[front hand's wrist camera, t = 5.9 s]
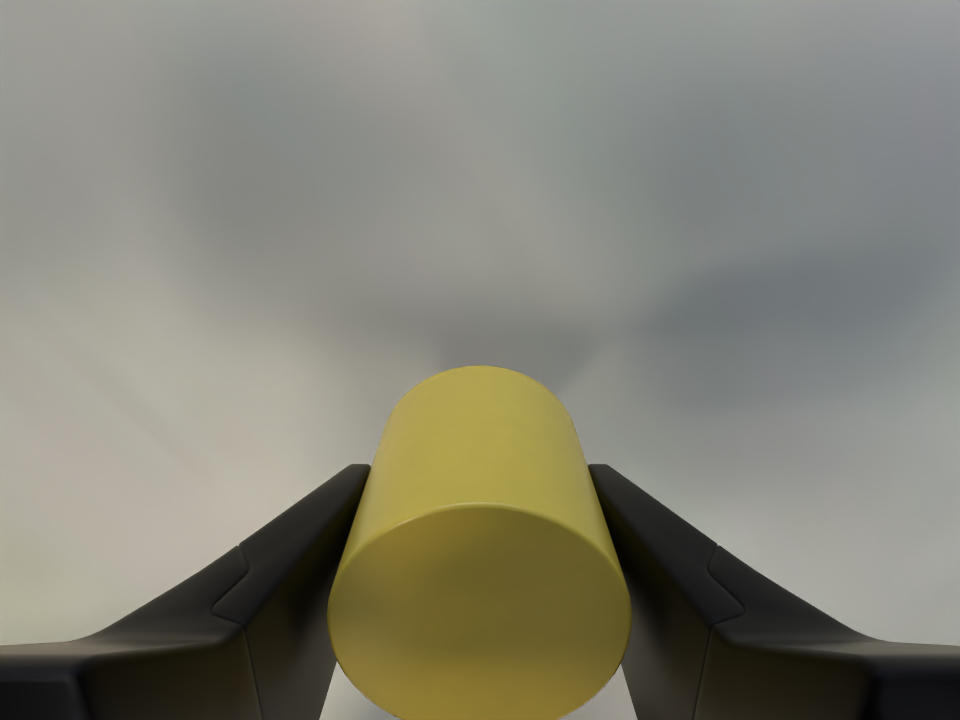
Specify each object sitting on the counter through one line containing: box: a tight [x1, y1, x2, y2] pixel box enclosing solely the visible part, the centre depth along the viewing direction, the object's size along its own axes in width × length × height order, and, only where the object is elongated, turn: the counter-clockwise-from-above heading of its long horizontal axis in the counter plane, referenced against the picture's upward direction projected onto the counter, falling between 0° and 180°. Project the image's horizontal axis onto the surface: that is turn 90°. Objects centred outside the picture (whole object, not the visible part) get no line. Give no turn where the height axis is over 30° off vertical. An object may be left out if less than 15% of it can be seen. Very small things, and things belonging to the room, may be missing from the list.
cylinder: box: [327, 365, 632, 720], centre depth 10 cm, size 4×4×5 cm
